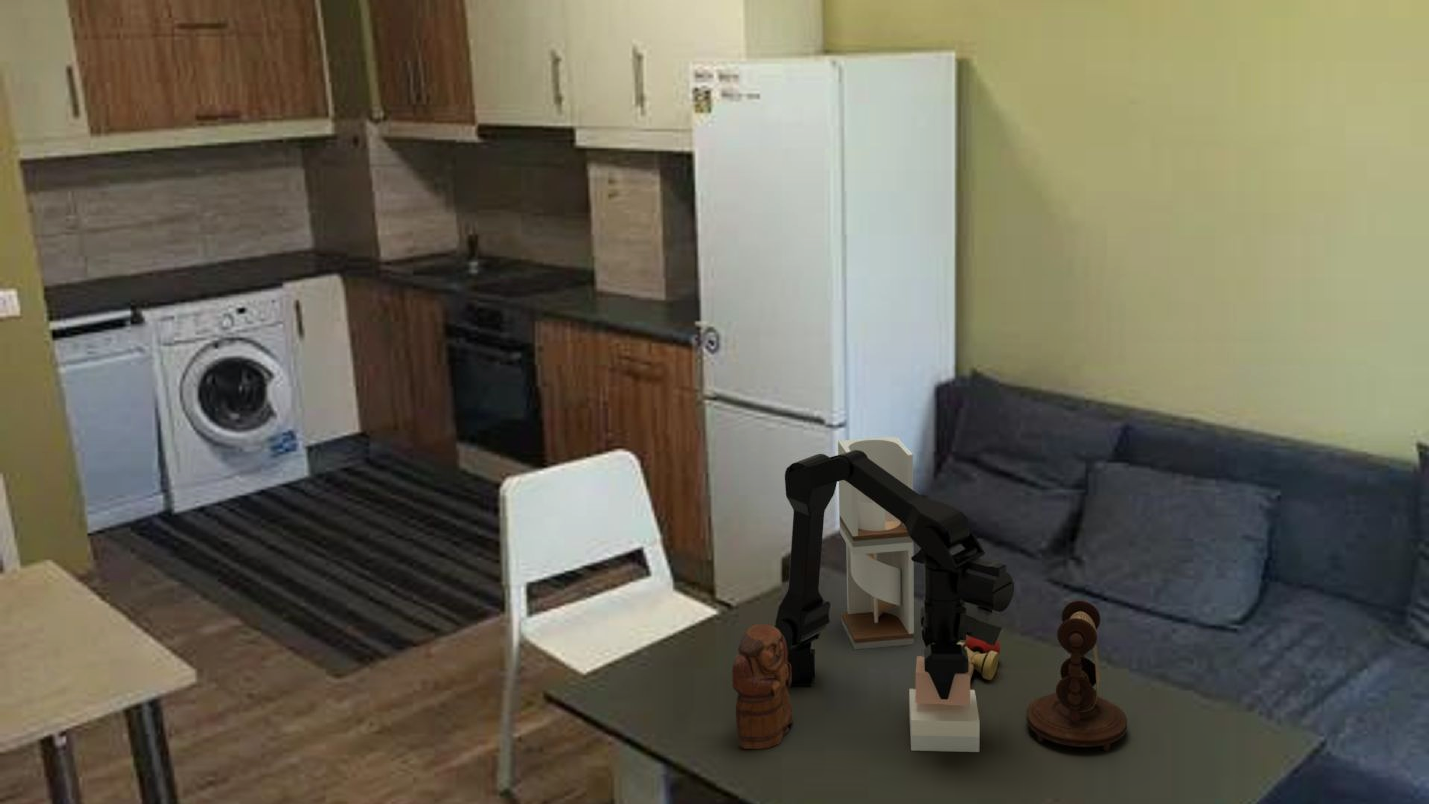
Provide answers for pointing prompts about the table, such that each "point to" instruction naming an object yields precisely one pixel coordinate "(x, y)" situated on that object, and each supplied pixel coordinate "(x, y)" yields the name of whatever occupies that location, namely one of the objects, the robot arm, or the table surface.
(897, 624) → the white shelf stand
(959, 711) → the white foam block
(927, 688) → the coral brick
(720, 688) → the table surface
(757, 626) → the wooden figurine
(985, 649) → the kendama
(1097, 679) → the brown upright round-based piece
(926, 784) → the table surface
